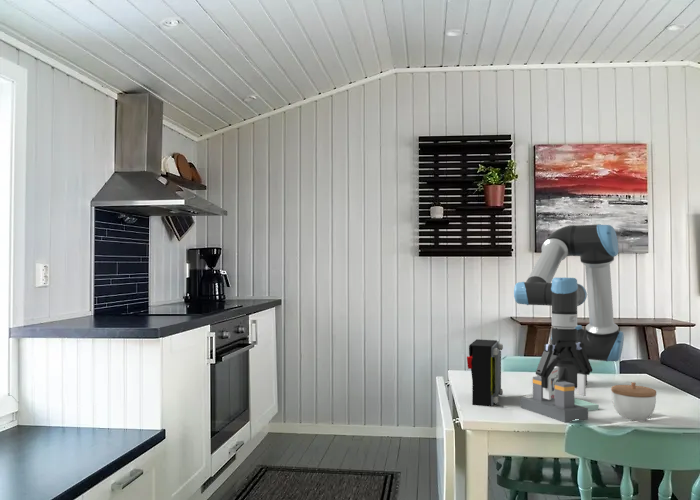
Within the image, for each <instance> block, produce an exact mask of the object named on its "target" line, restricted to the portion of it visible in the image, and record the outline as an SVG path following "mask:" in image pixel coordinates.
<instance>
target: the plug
mask: <svg viewBox="0 0 700 500" xmlns="http://www.w3.org/2000/svg"><path fill="white" fill-rule="evenodd" d="M575 391H576V387H575V386H574V384H573V383H569V382H565V381H564V382H555V406H557V407H560V408H563V409H566V408H574V398H575Z"/></svg>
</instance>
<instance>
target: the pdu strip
mask: <svg viewBox="0 0 700 500" xmlns="http://www.w3.org/2000/svg"><path fill="white" fill-rule="evenodd" d="M541 383H542V382H541V376H536V375H535V376H532V394H530V395H529V394H528V395H523V396H521V397H520V408H521V409H524V410H526V411H529V412H533V413H535V414H538V415H541V416H544V417H547V418H549V419H552V420H555V421H558V422H561V423H563V424H565V423H571V422H570V421H572V420H575V419H579V420H583V421H588V420H589V411H588V408H585V407H582V406H578V405H575V404H574V408H566V409H563V408H560V407H557V406H555V399H554V398H551V400H548V399H545V398H543V388H542V386H541ZM551 384H552V381H551Z"/></svg>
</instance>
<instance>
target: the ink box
mask: <svg viewBox="0 0 700 500" xmlns="http://www.w3.org/2000/svg"><path fill="white" fill-rule="evenodd" d="M536 375H537V374H536ZM537 376H539V375H537ZM549 377H550V378H551V381H552V384H551V398H554V399H555V382H558V367H556V366H555V367H554V369H553V371H552V372H551V374H550V375H549Z"/></svg>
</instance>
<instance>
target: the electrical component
mask: <svg viewBox="0 0 700 500" xmlns="http://www.w3.org/2000/svg"><path fill="white" fill-rule="evenodd" d="M503 349H504V346H503V343H499V341H498V340H497V339H479V338H478V339H475V340H473V341H472V343H470V344H469V345H468V355H469V356H466V362H467V369H468V370H469V369H470V372H471V379H472V386H471V387H472V388H471V389H472V393H471V395H472V396H471V397H472V400H471V401H472V403H471V404H472V406H481V407H490V408H491V407H494V404H498V403H499V396H503V394H504V393H503V392H504V390H503V389H502V350H503Z"/></svg>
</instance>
